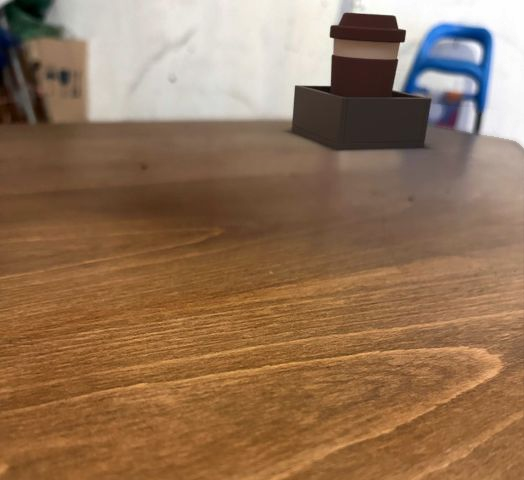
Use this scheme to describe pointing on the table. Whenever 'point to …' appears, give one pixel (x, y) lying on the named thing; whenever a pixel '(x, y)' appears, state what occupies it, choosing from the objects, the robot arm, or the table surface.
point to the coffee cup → (365, 55)
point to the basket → (360, 119)
